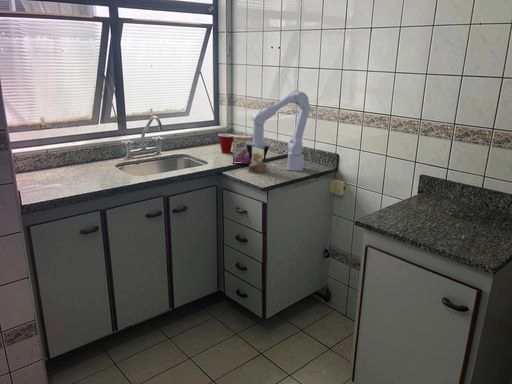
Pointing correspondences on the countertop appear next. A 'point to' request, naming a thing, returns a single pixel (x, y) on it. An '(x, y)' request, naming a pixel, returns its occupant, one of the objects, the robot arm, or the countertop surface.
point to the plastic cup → (226, 142)
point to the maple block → (257, 159)
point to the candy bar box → (241, 149)
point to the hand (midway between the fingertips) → (257, 159)
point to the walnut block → (257, 168)
